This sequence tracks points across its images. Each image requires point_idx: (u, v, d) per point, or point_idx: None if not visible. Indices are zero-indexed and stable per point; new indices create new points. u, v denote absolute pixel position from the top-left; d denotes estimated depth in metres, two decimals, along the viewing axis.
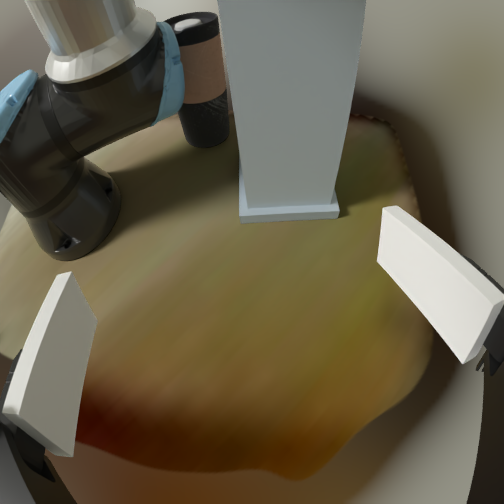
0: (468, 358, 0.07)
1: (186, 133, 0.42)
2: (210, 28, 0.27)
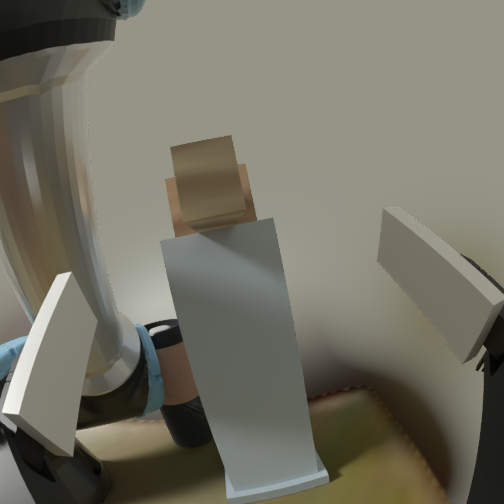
0: (467, 358, 0.07)
1: (172, 434, 0.40)
2: (177, 332, 0.40)
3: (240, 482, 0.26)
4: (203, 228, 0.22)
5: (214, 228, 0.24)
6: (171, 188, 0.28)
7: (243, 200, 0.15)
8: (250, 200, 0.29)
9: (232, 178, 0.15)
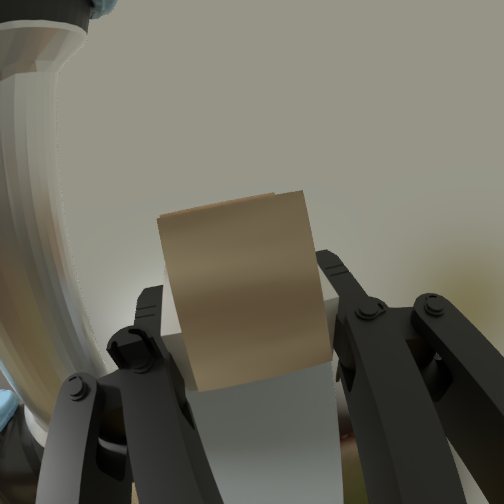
0: None
1: None
2: None
3: None
4: None
5: None
6: None
7: (327, 343, 0.07)
8: None
9: (306, 297, 0.07)
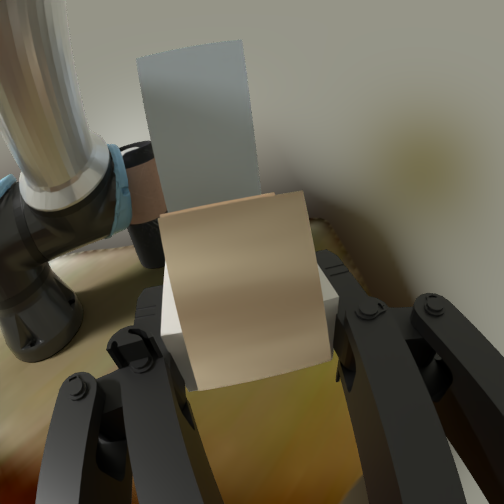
0: None
1: (139, 256, 0.48)
2: (146, 151, 0.40)
3: None
4: None
5: None
6: None
7: (326, 343, 0.07)
8: None
9: (306, 297, 0.07)
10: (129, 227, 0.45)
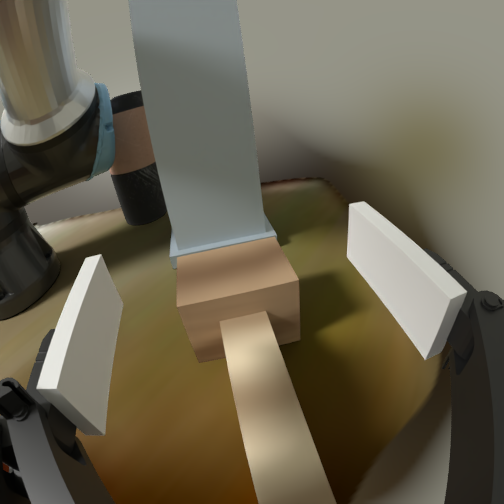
0: (430, 353, 0.08)
1: (124, 211, 0.44)
2: (135, 97, 0.36)
3: (184, 235, 0.32)
4: None
5: None
6: (188, 317, 0.19)
7: None
8: (296, 321, 0.21)
9: None
10: (114, 179, 0.41)
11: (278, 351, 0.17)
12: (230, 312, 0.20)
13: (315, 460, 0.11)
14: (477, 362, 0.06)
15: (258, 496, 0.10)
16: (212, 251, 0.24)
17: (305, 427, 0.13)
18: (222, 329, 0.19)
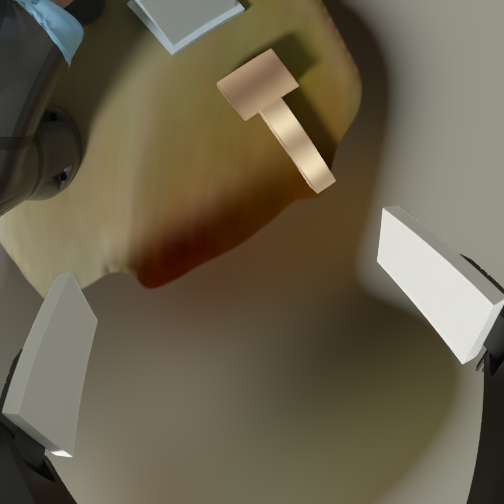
0: (468, 358, 0.07)
1: None
2: None
3: (178, 38, 0.30)
4: None
5: None
6: None
7: None
8: None
9: None
10: None
11: (295, 119, 0.36)
12: None
13: (323, 163, 0.39)
14: None
15: (310, 181, 0.40)
16: (237, 71, 0.31)
17: (317, 151, 0.38)
18: (264, 114, 0.36)
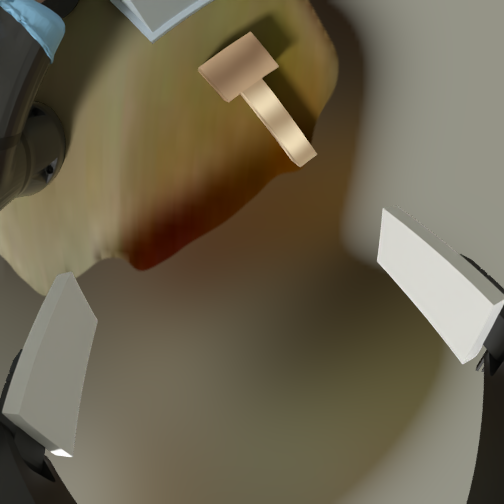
0: (468, 358, 0.07)
1: None
2: None
3: (157, 25, 0.29)
4: None
5: None
6: None
7: None
8: None
9: None
10: None
11: (276, 98, 0.36)
12: None
13: (304, 138, 0.40)
14: None
15: (292, 156, 0.41)
16: (218, 55, 0.30)
17: (297, 127, 0.39)
18: (245, 94, 0.36)
